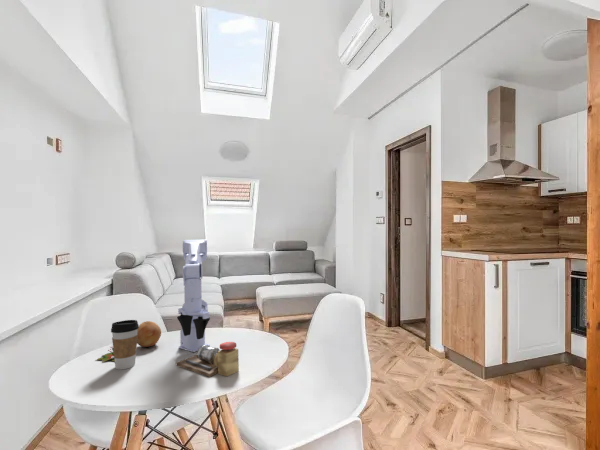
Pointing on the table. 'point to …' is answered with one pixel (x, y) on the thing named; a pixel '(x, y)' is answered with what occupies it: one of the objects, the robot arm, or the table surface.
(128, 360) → the coffee cup
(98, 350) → the table surface
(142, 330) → the onion
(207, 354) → the pipe coupling
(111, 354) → the lily flower
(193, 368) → the slider rig
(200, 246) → the robot arm
